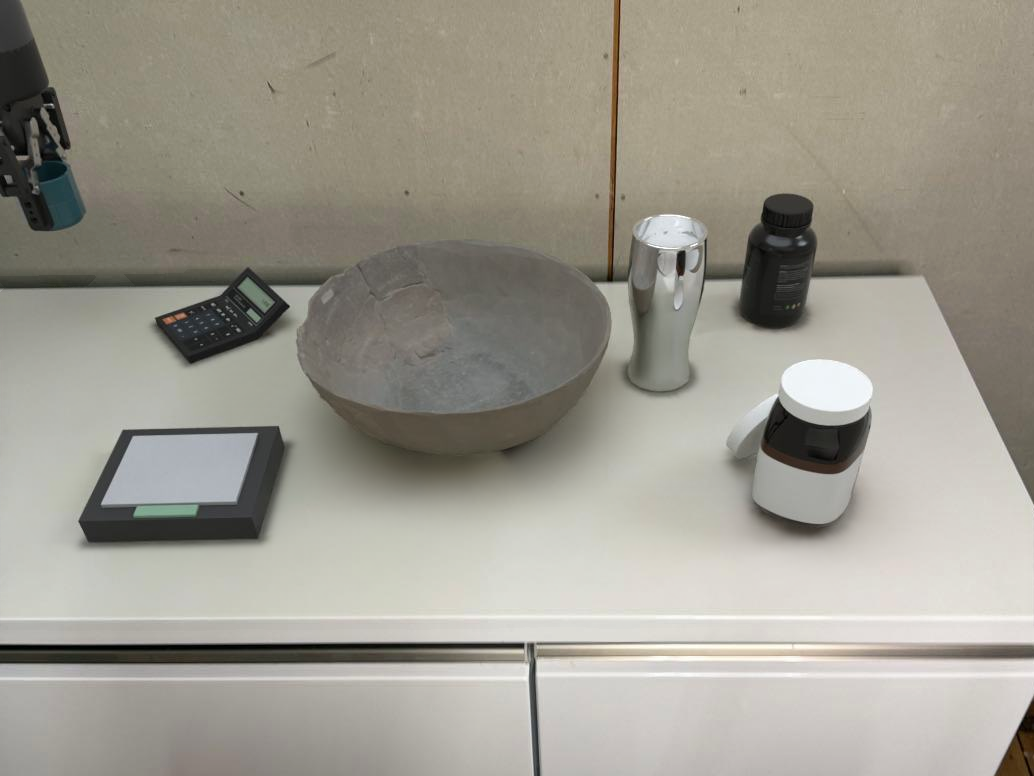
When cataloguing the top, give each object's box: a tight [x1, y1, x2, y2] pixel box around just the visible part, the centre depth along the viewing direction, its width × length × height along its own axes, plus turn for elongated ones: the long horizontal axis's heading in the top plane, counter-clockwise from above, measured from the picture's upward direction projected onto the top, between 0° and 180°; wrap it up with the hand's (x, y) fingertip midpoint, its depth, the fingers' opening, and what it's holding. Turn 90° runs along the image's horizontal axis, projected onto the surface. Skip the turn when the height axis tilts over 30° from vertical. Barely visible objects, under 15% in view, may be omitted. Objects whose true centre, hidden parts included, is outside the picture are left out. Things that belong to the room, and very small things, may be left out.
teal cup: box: [6, 160, 87, 232], centre depth 97 cm, size 6×6×5 cm
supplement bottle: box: [738, 192, 818, 328], centre depth 98 cm, size 7×7×12 cm
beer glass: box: [627, 213, 709, 393], centre depth 89 cm, size 7×7×15 cm
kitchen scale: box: [77, 425, 285, 543], centre depth 82 cm, size 14×12×3 cm
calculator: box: [154, 266, 291, 365], centre depth 101 cm, size 9×12×3 cm
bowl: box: [295, 238, 613, 457], centre depth 88 cm, size 28×28×10 cm
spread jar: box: [725, 358, 874, 528], centre depth 78 cm, size 12×11×12 cm
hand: (54, 213), depth 99 cm, fingers closed on teal cup, 6 cm apart
